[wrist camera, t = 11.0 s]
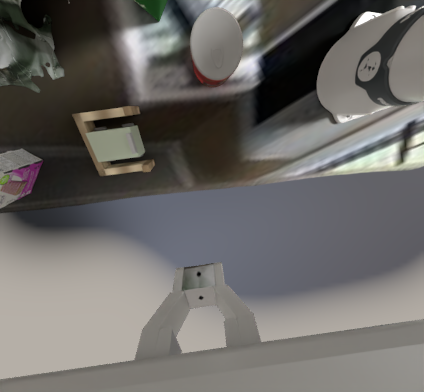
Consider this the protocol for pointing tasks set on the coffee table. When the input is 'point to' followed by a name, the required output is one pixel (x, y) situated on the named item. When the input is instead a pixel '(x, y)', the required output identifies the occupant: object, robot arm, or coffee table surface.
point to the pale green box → (116, 143)
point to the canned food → (215, 46)
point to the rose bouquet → (25, 48)
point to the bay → (87, 125)
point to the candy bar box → (17, 174)
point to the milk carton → (153, 7)
